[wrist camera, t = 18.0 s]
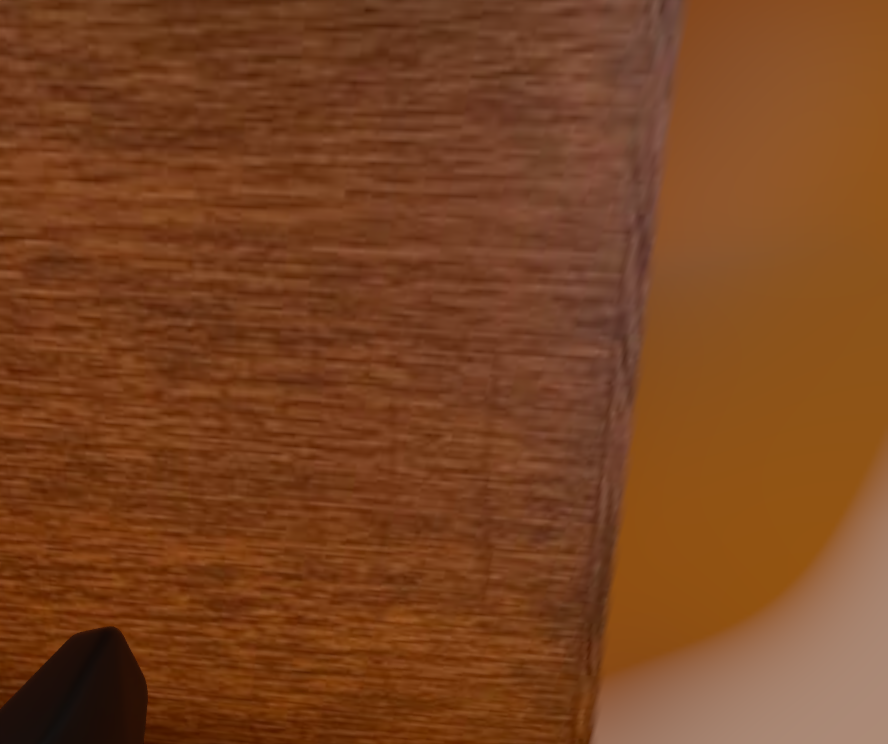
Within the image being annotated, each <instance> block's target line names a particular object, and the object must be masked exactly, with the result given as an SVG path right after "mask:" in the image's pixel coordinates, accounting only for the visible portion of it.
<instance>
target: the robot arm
mask: <svg viewBox="0 0 888 744" xmlns="http://www.w3.org/2000/svg"><path fill="white" fill-rule="evenodd" d="M147 702H148V692H147V685H146V681H145V678H144V675H143V673H142V671H141V669H140V667H139V665H138V663H137V661H136V659H135V658H134V656H133V654H132V652H131V650H130V648H129V646H128V644H127V642H126V640H125V638H124V636H123V634H122V633H121V632H120V631H119V630H118V629H117V628H115V627H103V628H98V629H93V630H88V631H84V632H80V633H77V634H75V635H73V636H72V637H71V638H70V639H69V640H67V641H66V642H65V643H64V644H63V645H62V647H61V648H60V649H59V650H58V651H57V652H56V653H55V654H54V655H53V656H52V657H51V658H50V659H49V660H48V661H47V662H46V663H45V664H44V665H43V666H42V667H41V668H40V669H39V670H38V671H37V672H36V673H35V674H34V675H33V676H32V677H31V678H30V679H29V680H28V681H27V682H26V683H25V684H24V685H23V686H22V687H21V689H20V690H19V691H18V692H17V693H16V694H15V695H14V696H13V697H12V698H11V699H10V700H9V701H8V702H7V703H6V704H5V705H4V706H3V707H2V708H1V709H0V744H144V734H145V723H146V713H147Z"/></svg>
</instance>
